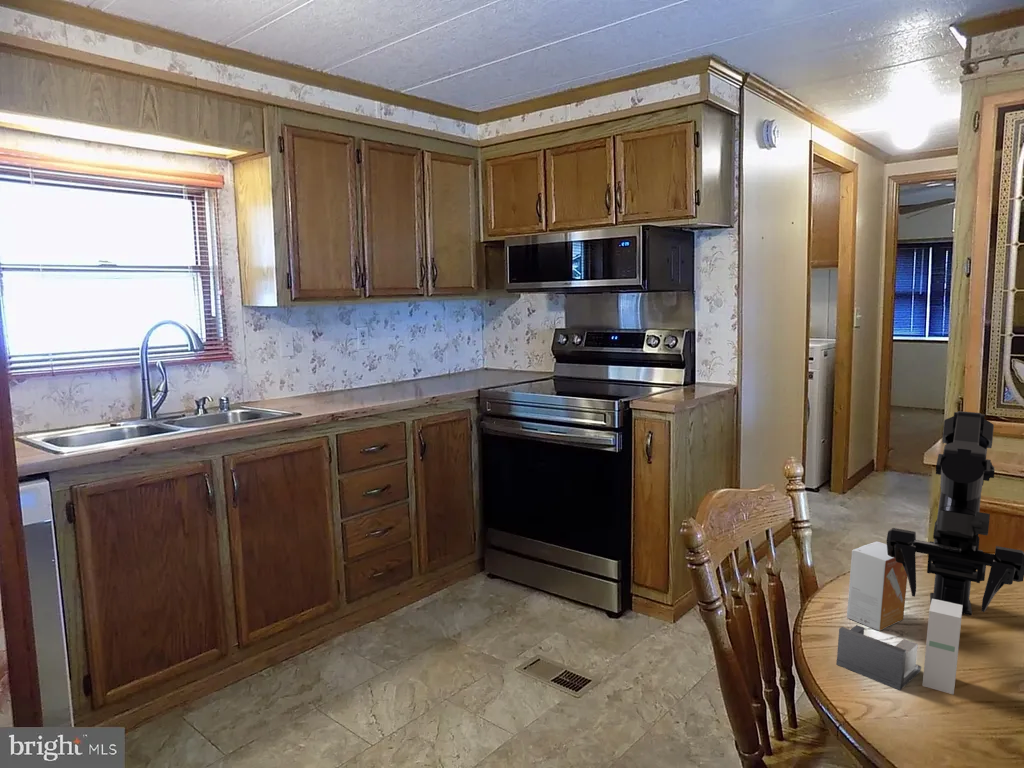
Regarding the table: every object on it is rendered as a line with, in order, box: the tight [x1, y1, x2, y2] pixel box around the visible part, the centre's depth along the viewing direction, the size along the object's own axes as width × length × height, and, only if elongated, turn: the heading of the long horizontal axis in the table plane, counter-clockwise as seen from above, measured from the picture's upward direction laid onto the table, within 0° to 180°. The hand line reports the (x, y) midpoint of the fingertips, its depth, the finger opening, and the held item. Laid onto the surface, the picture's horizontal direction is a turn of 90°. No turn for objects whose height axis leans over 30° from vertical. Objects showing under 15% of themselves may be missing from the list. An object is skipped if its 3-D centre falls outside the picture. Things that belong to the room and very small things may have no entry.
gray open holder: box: [836, 624, 922, 691], centre depth 111 cm, size 8×10×6 cm
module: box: [921, 599, 963, 695], centre depth 106 cm, size 5×4×12 cm
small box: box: [846, 540, 908, 632], centre depth 126 cm, size 8×6×13 cm
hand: (947, 602), depth 109 cm, fingers open, 9 cm apart
